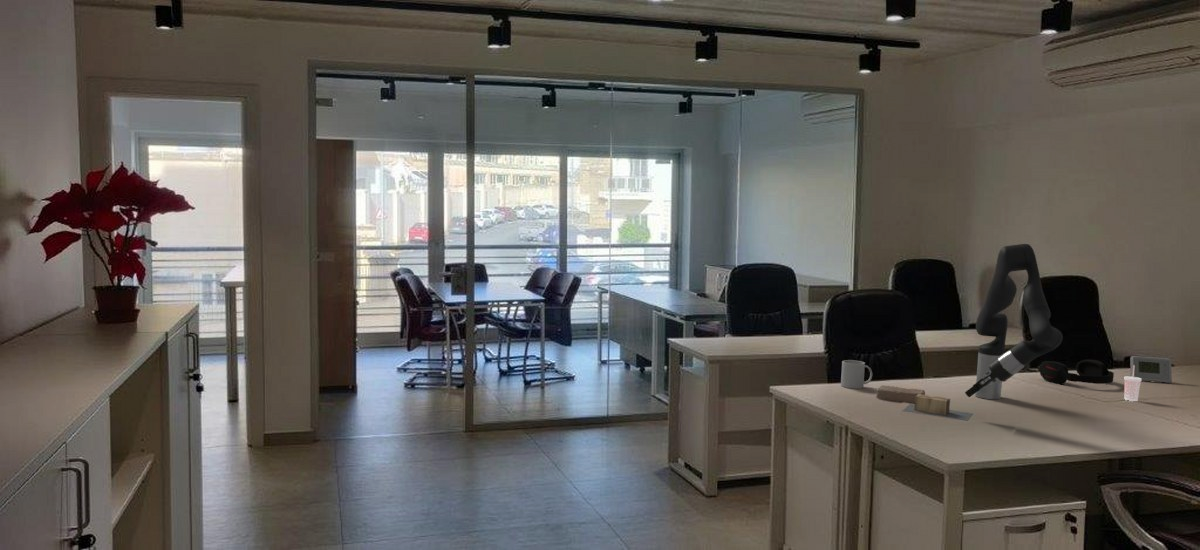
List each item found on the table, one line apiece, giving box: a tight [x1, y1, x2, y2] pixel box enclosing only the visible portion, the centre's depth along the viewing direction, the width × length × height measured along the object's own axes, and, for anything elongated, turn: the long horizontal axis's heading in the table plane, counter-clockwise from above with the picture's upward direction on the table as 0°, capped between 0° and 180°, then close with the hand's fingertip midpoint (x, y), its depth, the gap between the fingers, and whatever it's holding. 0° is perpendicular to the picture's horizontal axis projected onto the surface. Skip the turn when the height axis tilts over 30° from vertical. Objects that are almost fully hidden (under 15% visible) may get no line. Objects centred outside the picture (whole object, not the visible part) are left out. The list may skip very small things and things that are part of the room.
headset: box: [1038, 359, 1115, 385], centre depth 384 cm, size 30×28×9 cm
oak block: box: [914, 394, 951, 415], centre depth 318 cm, size 5×5×11 cm
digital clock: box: [1129, 355, 1173, 384], centre depth 391 cm, size 16×9×11 cm, turn 63°
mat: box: [901, 403, 974, 422], centre depth 317 cm, size 13×22×1 cm, turn 59°
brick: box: [875, 385, 926, 404], centre depth 337 cm, size 17×8×5 cm, turn 60°
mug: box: [840, 359, 873, 390], centre depth 357 cm, size 11×10×10 cm
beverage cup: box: [1123, 365, 1142, 402], centre depth 349 cm, size 6×6×14 cm
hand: (967, 394), depth 311 cm, fingers closed
